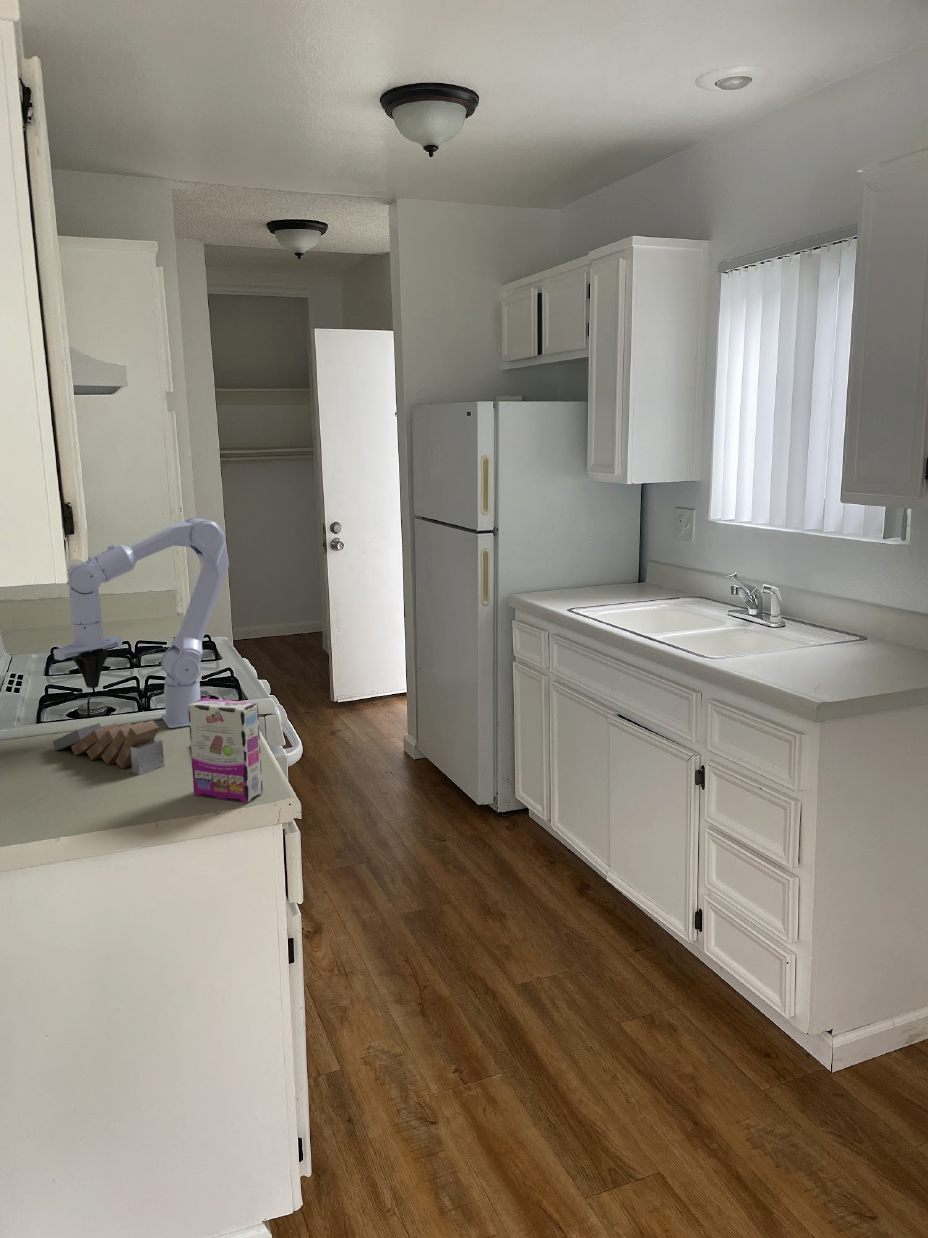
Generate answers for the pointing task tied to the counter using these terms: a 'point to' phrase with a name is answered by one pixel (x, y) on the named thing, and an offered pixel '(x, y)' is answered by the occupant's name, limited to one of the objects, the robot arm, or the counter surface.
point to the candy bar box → (225, 749)
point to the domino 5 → (136, 741)
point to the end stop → (147, 756)
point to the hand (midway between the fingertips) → (92, 687)
